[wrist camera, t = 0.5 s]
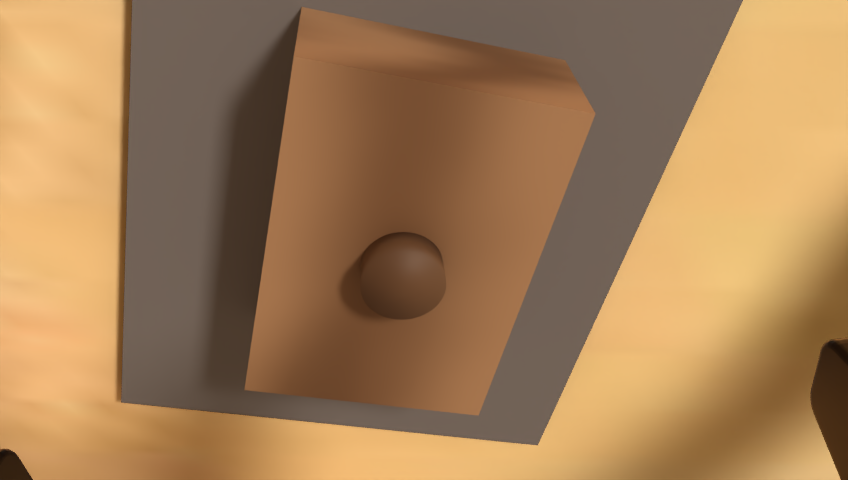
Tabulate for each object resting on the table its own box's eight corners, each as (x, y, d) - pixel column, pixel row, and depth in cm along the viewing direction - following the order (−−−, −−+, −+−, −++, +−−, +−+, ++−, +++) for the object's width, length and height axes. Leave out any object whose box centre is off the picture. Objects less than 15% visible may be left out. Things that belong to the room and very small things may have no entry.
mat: (770, -90, 18) (781, -84, 18) (534, 432, 28) (537, 445, 28) (145, -249, 16) (139, -246, 15) (125, 388, 26) (121, 402, 25)
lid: (565, 60, 19) (605, 131, 16) (466, 343, 25) (482, 437, 22) (301, 6, 18) (291, 72, 15) (255, 316, 23) (240, 412, 20)
